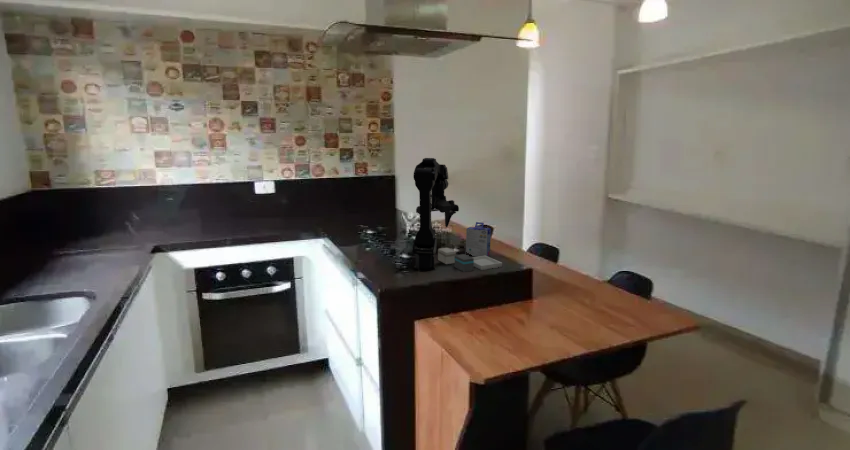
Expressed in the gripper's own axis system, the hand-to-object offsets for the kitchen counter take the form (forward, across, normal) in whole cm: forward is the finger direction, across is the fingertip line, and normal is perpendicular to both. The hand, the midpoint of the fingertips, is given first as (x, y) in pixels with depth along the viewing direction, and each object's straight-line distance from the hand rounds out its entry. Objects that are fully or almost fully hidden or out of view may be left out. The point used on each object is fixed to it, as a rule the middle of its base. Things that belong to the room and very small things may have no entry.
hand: (437, 227), depth 206 cm
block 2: (+11, -2, -27) cm, 29 cm away
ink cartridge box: (+11, +14, -12) cm, 22 cm away
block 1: (+11, -3, -15) cm, 19 cm away
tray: (+11, +8, -26) cm, 29 cm away
